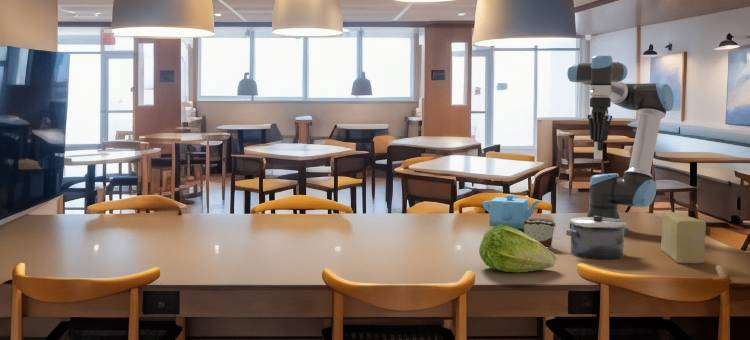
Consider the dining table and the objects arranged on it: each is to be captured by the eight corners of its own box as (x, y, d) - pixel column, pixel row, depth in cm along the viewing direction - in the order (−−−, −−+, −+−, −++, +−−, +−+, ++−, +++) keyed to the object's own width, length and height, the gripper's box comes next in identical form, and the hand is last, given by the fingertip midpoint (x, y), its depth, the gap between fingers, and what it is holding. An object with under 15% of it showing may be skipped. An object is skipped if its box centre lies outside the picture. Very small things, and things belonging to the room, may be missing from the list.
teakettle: (478, 227, 304) (479, 193, 302) (515, 224, 311) (516, 191, 309) (503, 235, 286) (504, 199, 285) (541, 231, 294) (542, 196, 292)
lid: (557, 223, 259) (558, 213, 258) (603, 220, 264) (603, 211, 264) (589, 231, 239) (589, 221, 239) (637, 229, 244) (637, 218, 244)
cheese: (649, 249, 260) (651, 209, 258) (675, 249, 260) (677, 209, 258) (676, 263, 238) (678, 220, 236) (704, 263, 238) (707, 220, 236)
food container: (556, 245, 266) (557, 219, 265) (555, 248, 261) (556, 221, 260) (523, 242, 270) (524, 217, 269) (521, 246, 265) (522, 219, 264)
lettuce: (541, 278, 236) (548, 297, 221) (473, 252, 236) (476, 269, 220) (559, 239, 232) (568, 256, 217) (490, 213, 232) (494, 228, 217)
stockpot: (551, 249, 259) (552, 222, 258) (606, 245, 266) (607, 219, 264) (582, 261, 240) (583, 232, 239) (640, 257, 246) (641, 229, 245)
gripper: (582, 96, 271) (579, 157, 274) (601, 96, 259) (599, 160, 261) (599, 96, 274) (596, 157, 276) (619, 96, 261) (616, 160, 263)
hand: (598, 158), depth 269 cm, fingers closed
